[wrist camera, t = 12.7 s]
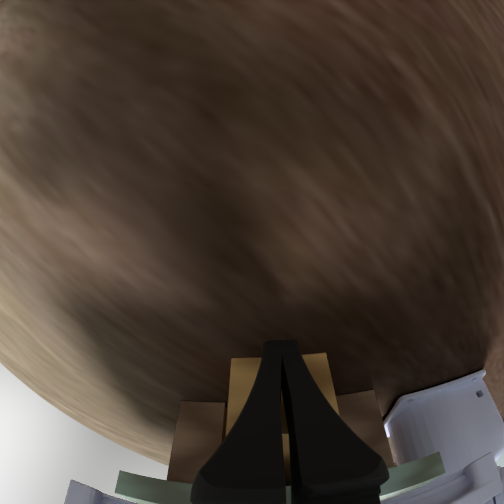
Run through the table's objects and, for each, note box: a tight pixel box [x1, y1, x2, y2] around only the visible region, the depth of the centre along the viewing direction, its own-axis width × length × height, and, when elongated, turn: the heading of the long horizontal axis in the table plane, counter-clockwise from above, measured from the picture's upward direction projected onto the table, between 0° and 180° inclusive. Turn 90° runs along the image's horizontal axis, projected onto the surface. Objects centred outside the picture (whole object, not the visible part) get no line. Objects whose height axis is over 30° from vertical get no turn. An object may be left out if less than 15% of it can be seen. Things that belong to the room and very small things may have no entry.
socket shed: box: [115, 390, 446, 504], centre depth 15 cm, size 17×12×8 cm
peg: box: [226, 353, 340, 486], centre depth 15 cm, size 5×12×5 cm, turn 4°
